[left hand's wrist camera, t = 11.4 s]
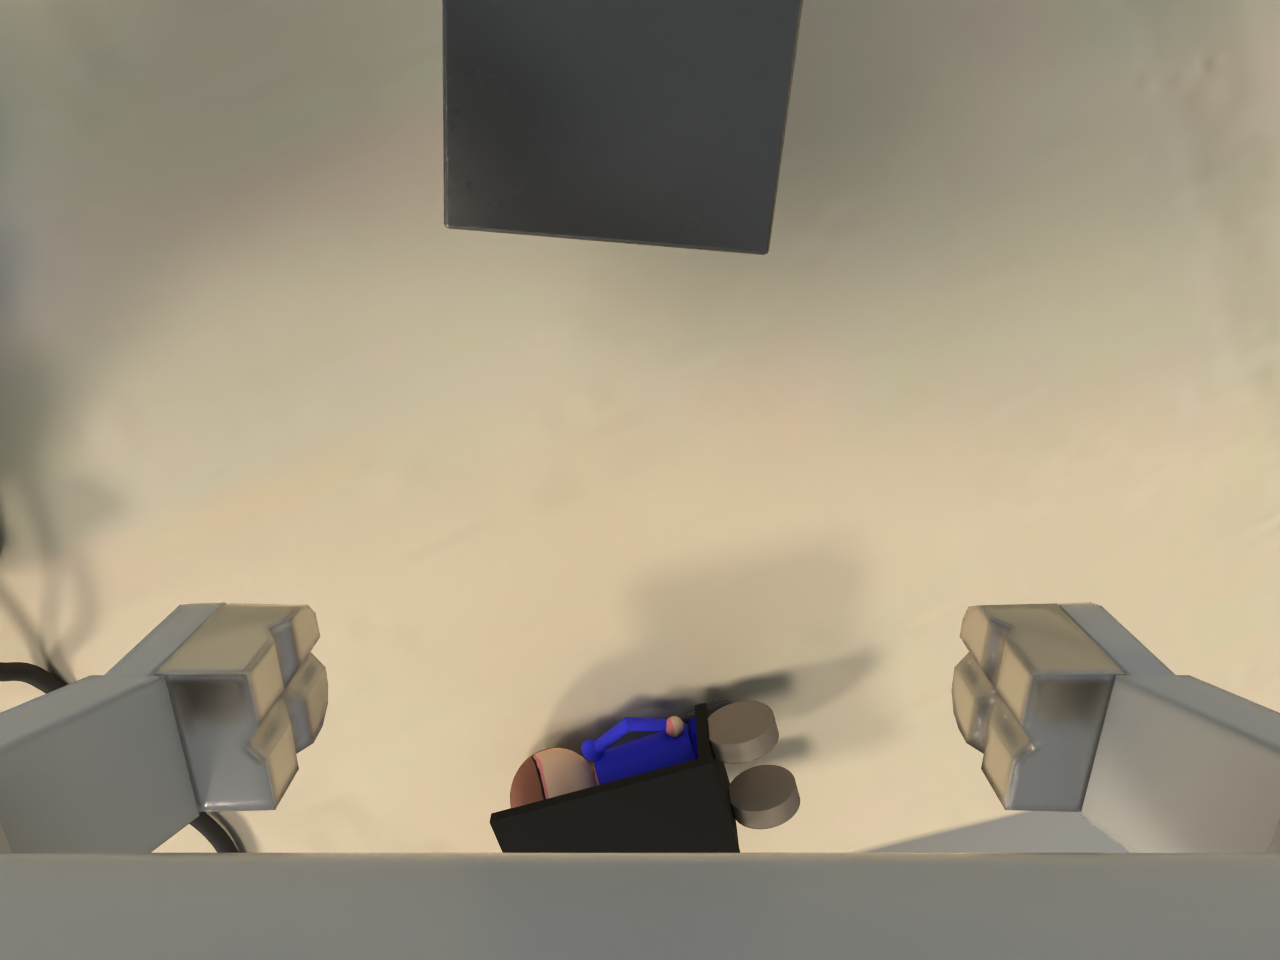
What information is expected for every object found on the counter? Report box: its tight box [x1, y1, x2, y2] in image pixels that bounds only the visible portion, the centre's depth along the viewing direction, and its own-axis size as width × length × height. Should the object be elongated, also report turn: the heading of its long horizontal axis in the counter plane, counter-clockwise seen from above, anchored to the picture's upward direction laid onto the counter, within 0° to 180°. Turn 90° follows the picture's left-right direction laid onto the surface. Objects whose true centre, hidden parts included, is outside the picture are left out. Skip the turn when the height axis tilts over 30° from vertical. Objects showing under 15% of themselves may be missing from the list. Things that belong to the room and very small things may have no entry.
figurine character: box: [490, 701, 800, 853], centre depth 42 cm, size 7×8×15 cm
